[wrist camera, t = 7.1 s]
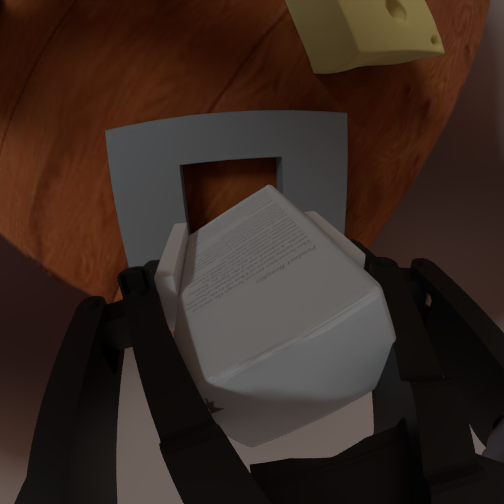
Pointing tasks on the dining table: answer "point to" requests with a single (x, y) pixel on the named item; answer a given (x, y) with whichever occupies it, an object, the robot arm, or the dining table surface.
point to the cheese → (364, 32)
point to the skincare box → (277, 320)
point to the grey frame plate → (216, 149)
